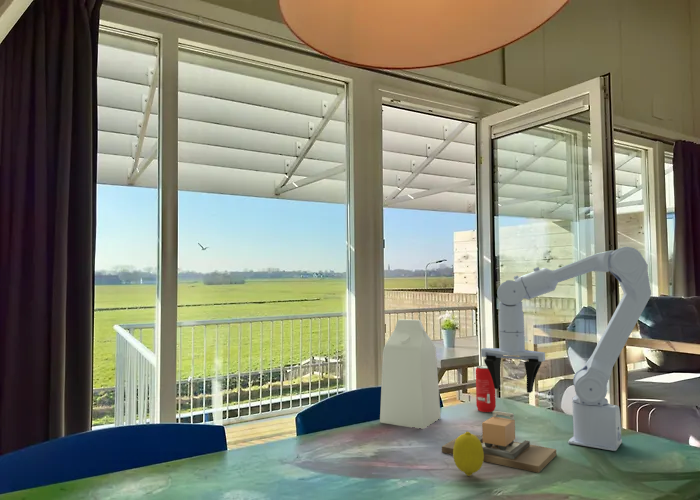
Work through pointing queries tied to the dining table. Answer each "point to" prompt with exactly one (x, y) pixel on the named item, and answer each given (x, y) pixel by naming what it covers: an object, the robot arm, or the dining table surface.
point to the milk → (409, 377)
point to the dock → (513, 454)
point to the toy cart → (499, 430)
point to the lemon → (468, 453)
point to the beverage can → (484, 390)
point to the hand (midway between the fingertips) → (513, 390)
